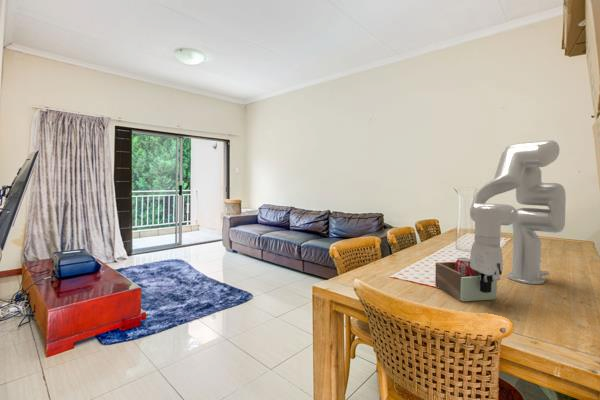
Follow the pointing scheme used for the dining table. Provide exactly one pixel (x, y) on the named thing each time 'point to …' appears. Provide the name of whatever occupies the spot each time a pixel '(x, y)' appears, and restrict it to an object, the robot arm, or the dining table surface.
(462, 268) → the beverage can
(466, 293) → the pale green drawer
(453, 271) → the box
